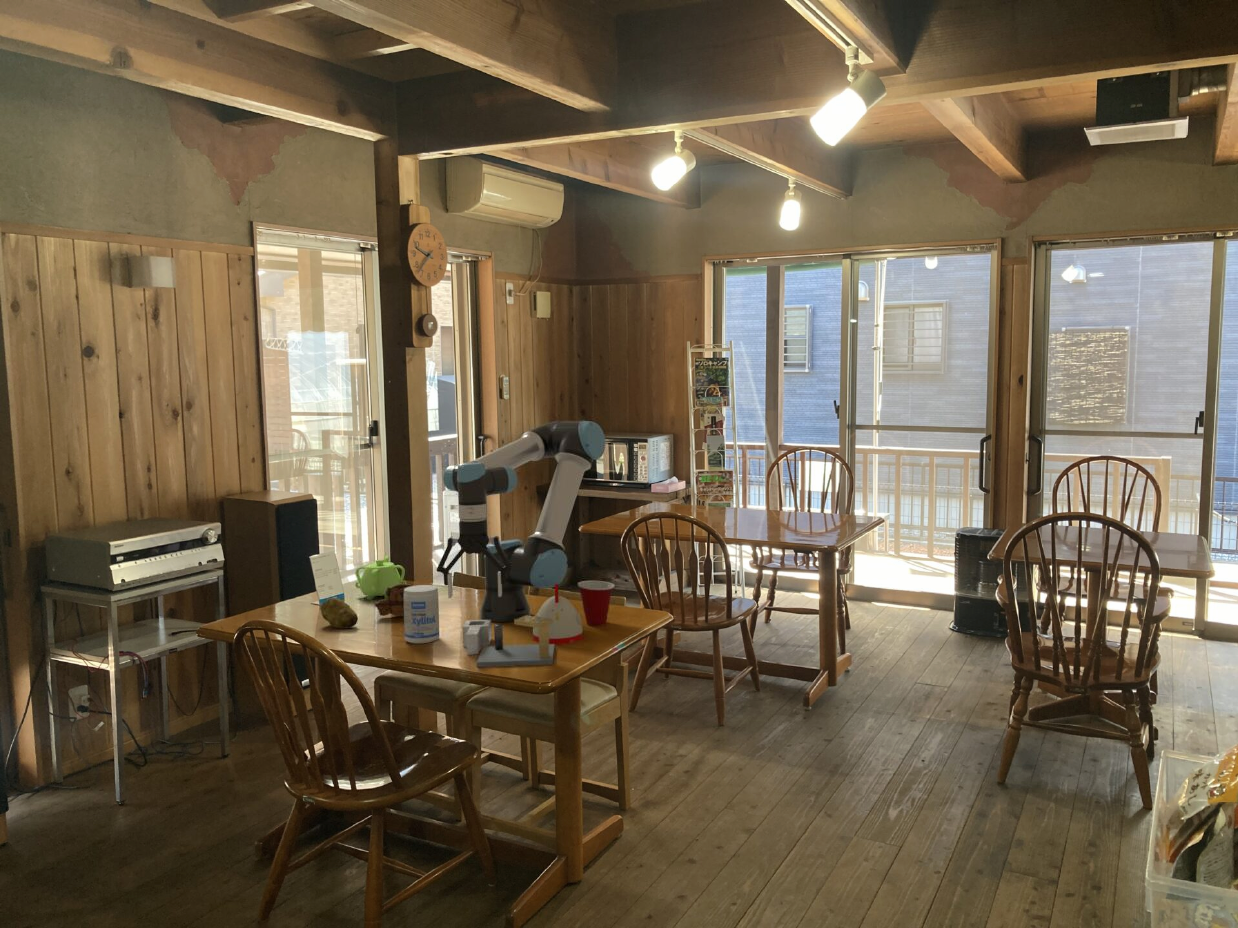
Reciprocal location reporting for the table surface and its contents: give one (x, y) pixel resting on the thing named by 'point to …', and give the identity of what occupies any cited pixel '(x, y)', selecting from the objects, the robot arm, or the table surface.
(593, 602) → the plastic cup
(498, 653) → the board
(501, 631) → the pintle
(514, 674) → the table surface
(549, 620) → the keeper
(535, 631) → the kitchen timer
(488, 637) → the link
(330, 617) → the potato
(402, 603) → the wooden carving
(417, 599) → the supplement tub
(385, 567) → the green lidded pot
